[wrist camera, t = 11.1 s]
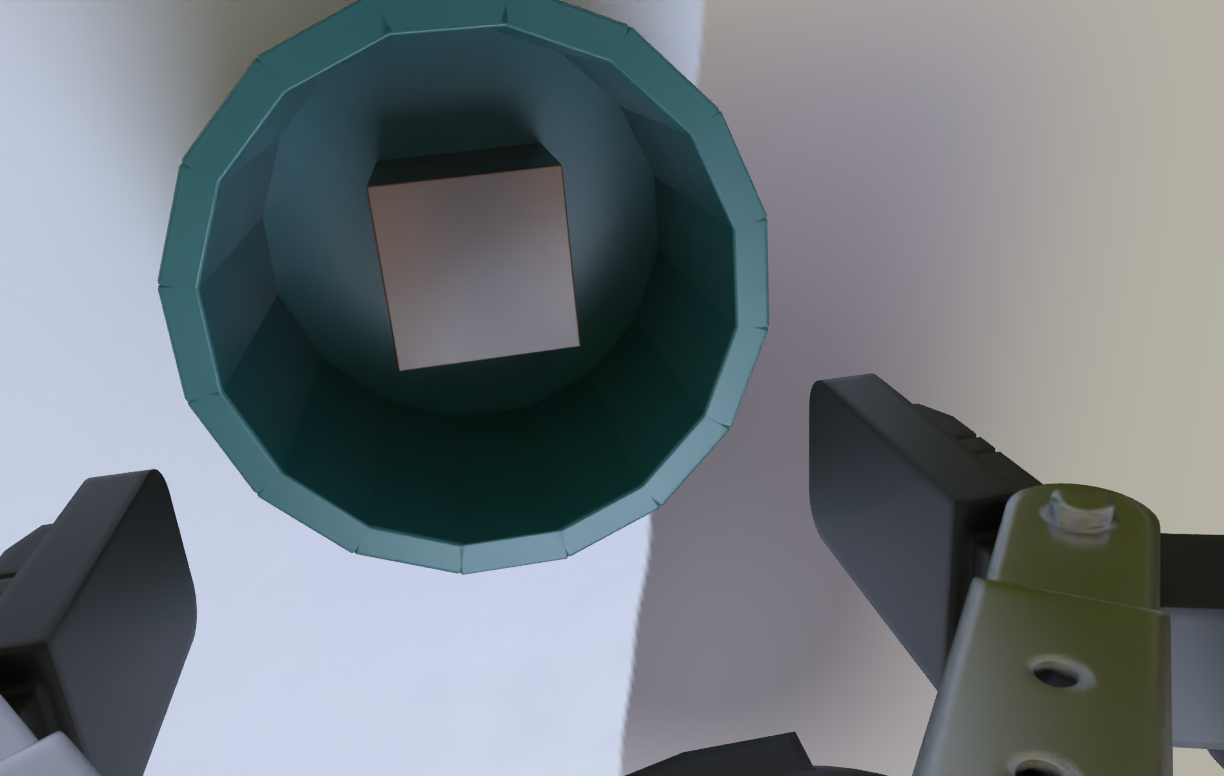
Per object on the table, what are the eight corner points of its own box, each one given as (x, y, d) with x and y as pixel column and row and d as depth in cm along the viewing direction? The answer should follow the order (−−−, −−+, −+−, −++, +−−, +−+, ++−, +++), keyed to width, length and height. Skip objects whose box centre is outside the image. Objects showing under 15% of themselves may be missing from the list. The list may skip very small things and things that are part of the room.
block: (403, 321, 29) (398, 372, 24) (375, 161, 27) (365, 186, 23) (559, 300, 29) (581, 347, 25) (541, 142, 28) (562, 164, 23)
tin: (287, 457, 30) (236, 610, 22) (193, 17, 26) (88, 13, 18) (689, 402, 32) (774, 526, 24) (667, -20, 27) (763, -38, 19)
